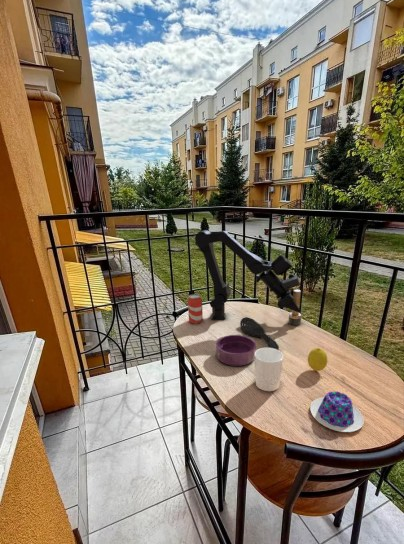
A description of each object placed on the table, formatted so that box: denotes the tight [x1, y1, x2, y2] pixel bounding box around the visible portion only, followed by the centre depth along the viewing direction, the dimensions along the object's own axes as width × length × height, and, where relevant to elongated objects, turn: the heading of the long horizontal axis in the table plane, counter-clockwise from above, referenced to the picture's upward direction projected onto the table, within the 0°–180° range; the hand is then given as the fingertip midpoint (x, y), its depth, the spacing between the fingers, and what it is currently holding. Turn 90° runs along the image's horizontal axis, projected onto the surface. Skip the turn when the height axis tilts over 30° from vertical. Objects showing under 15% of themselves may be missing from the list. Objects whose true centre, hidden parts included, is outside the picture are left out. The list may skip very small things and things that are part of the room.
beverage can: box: [187, 293, 204, 325], centre depth 123 cm, size 6×6×12 cm
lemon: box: [307, 347, 328, 372], centre depth 86 cm, size 6×6×8 cm
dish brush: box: [287, 289, 302, 327], centre depth 117 cm, size 5×5×15 cm
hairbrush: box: [239, 316, 280, 351], centre depth 109 cm, size 8×4×25 cm
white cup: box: [254, 347, 284, 392], centre depth 80 cm, size 8×8×10 cm
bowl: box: [215, 334, 257, 367], centre depth 95 cm, size 13×13×5 cm
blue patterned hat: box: [309, 391, 365, 433], centre depth 68 cm, size 12×12×5 cm
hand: (299, 309), depth 117 cm, fingers open, 5 cm apart
